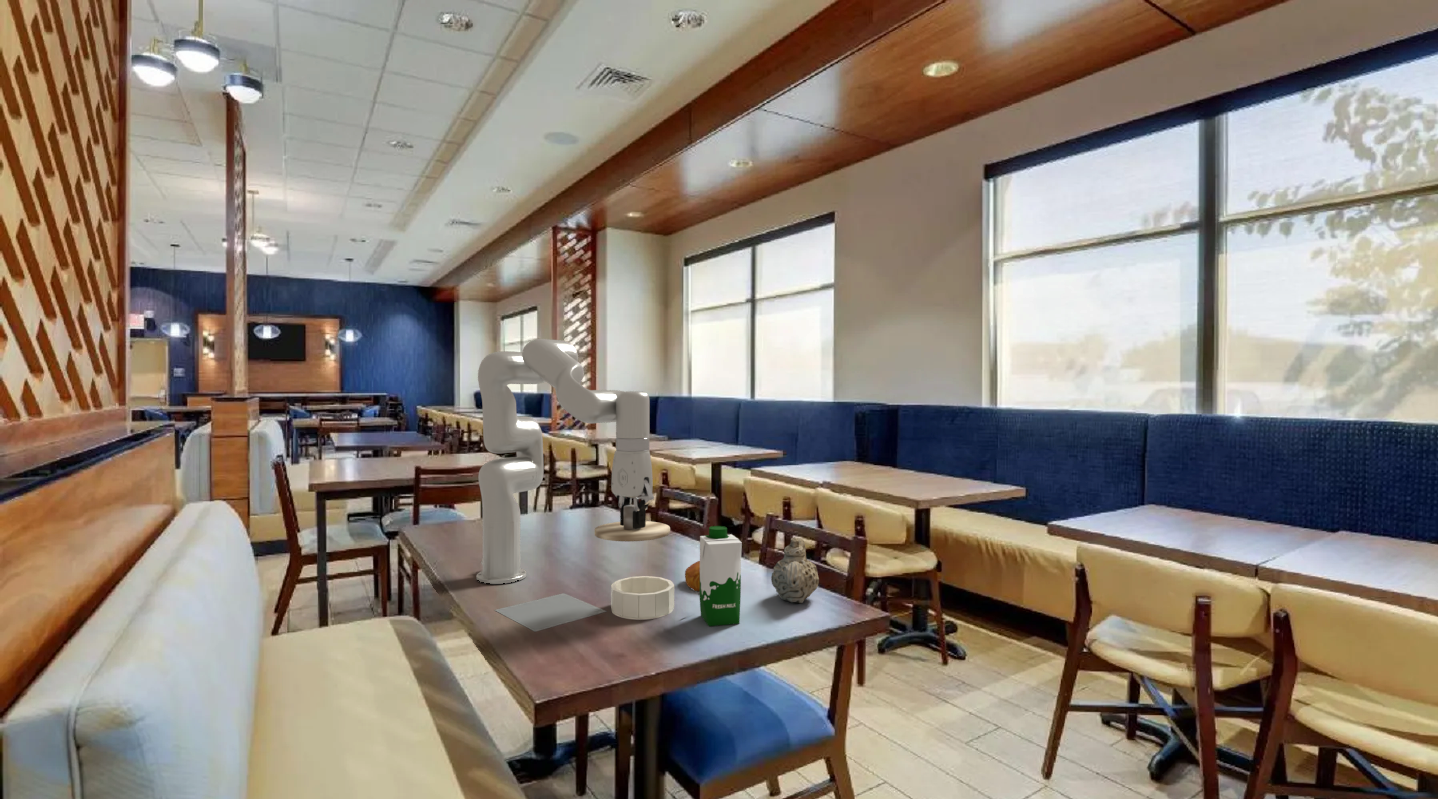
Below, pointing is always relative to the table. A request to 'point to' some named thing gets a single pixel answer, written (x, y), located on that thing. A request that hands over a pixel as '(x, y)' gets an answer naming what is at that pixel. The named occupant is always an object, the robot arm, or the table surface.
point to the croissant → (693, 576)
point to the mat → (549, 611)
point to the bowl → (642, 597)
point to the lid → (631, 529)
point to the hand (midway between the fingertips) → (632, 525)
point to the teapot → (795, 573)
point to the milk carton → (720, 577)
